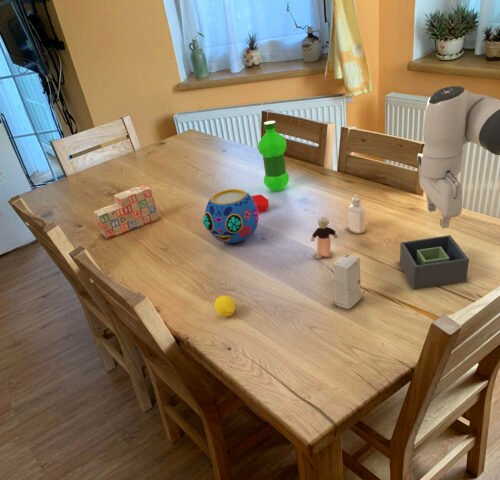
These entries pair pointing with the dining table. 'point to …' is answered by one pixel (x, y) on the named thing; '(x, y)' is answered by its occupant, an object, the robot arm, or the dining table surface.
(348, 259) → the cosmetic box
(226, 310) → the lemon
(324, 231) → the grandmother figurine
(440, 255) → the small bin
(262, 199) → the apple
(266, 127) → the plastic bottle
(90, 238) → the dining table surface
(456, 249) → the big bin
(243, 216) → the ceramic pot
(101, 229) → the stack of blocks
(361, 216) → the eye dropper bottle
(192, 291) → the dining table surface
